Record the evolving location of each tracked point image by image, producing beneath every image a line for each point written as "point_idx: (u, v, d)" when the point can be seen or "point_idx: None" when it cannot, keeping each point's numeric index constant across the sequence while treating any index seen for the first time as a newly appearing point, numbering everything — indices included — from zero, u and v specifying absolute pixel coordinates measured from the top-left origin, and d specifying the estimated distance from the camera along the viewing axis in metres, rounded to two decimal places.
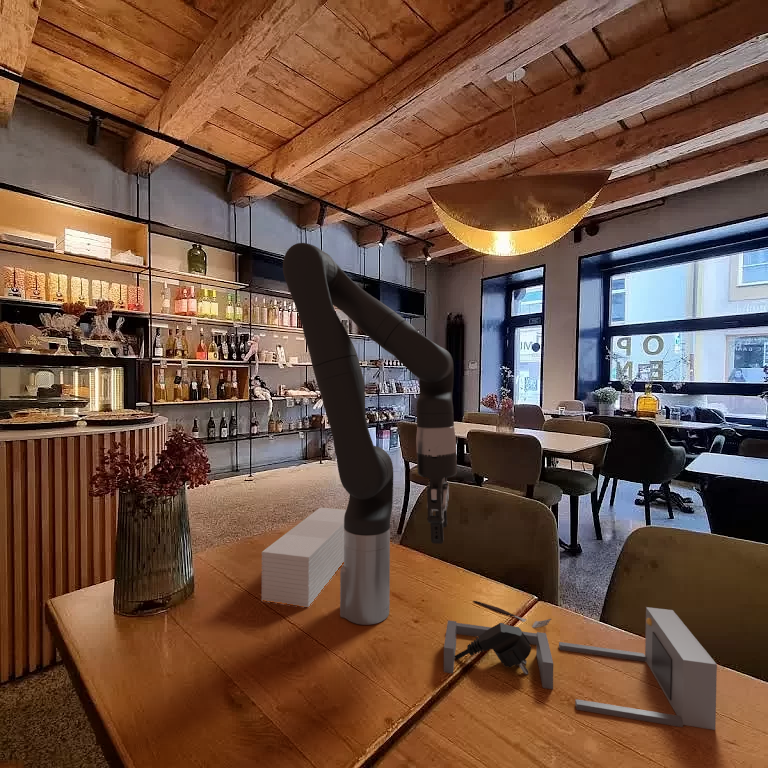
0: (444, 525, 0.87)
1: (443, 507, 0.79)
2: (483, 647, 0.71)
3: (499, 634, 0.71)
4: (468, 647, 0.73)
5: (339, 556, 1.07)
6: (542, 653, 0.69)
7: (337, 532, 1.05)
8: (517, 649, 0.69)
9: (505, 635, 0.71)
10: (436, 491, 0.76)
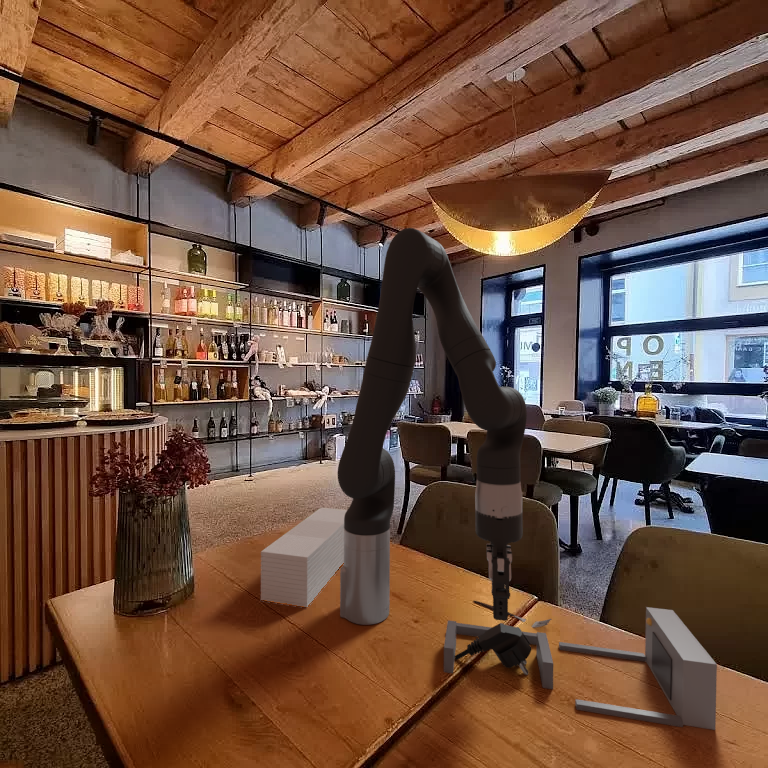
0: None
1: (508, 578, 0.68)
2: (483, 647, 0.71)
3: (499, 634, 0.70)
4: (468, 647, 0.73)
5: (339, 556, 1.07)
6: (542, 653, 0.69)
7: (337, 532, 1.05)
8: (517, 650, 0.69)
9: (505, 635, 0.70)
10: (503, 561, 0.65)
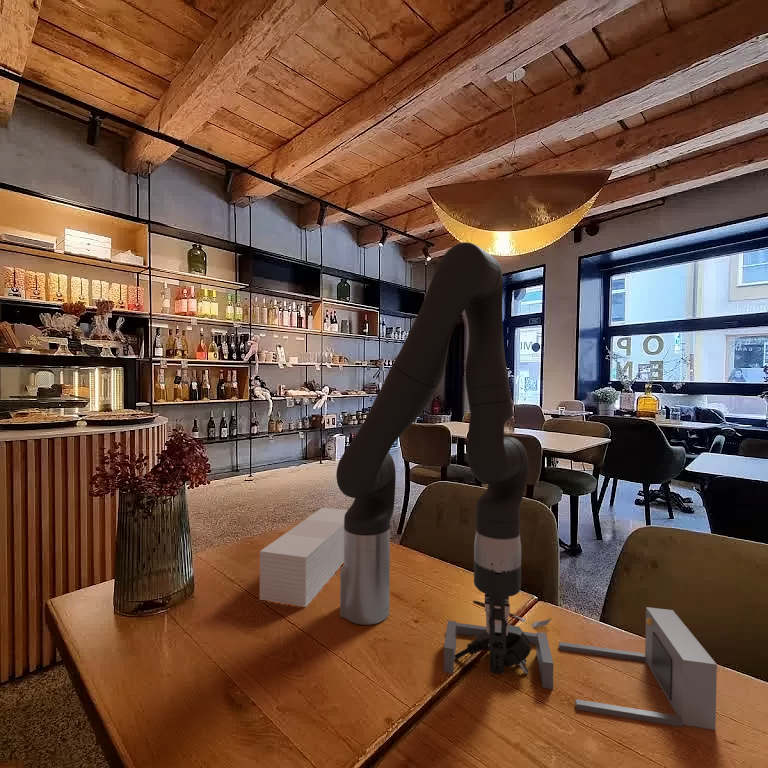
0: None
1: (505, 633, 0.68)
2: (483, 646, 0.71)
3: None
4: (468, 646, 0.73)
5: (339, 556, 1.07)
6: (542, 653, 0.69)
7: (337, 532, 1.05)
8: (517, 649, 0.69)
9: None
10: (501, 625, 0.65)
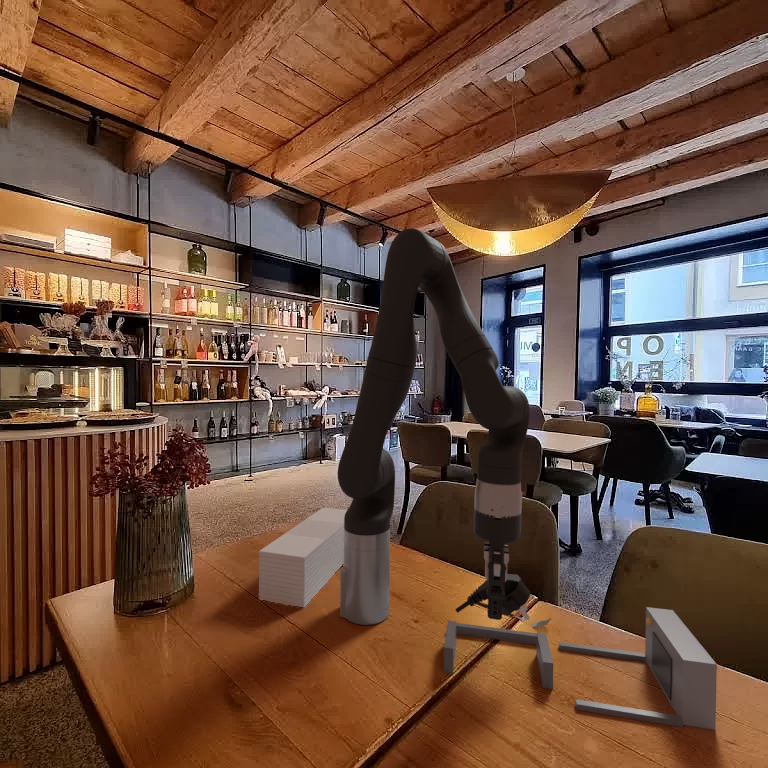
0: None
1: (504, 579, 0.68)
2: (482, 596, 0.71)
3: None
4: (468, 598, 0.72)
5: (339, 557, 1.07)
6: (542, 653, 0.69)
7: (337, 533, 1.05)
8: (516, 595, 0.69)
9: None
10: (500, 568, 0.65)
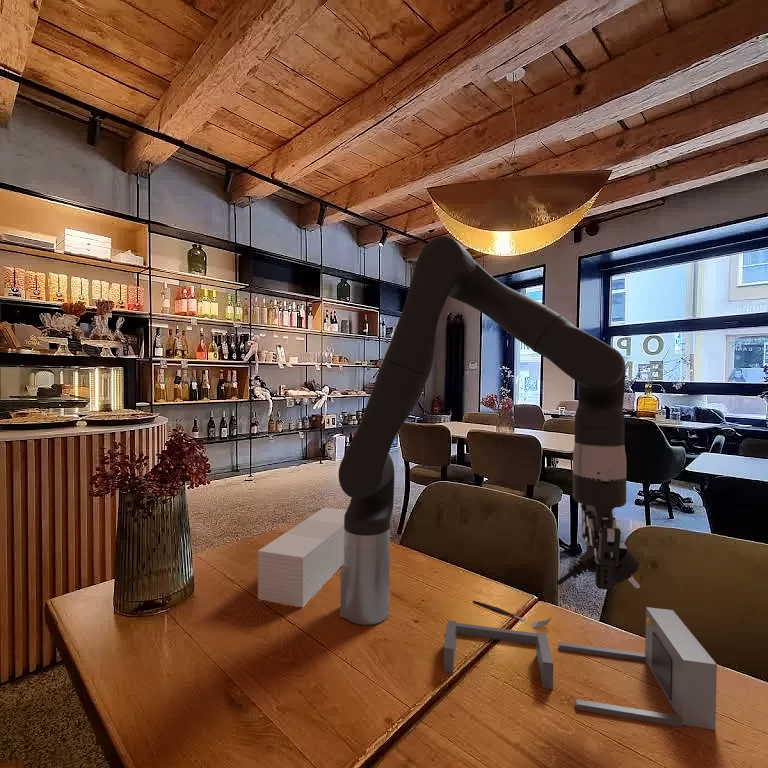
0: None
1: None
2: (587, 567, 0.67)
3: None
4: (570, 570, 0.69)
5: (339, 557, 1.06)
6: (542, 653, 0.69)
7: (337, 533, 1.05)
8: (626, 562, 0.65)
9: None
10: (614, 533, 0.61)
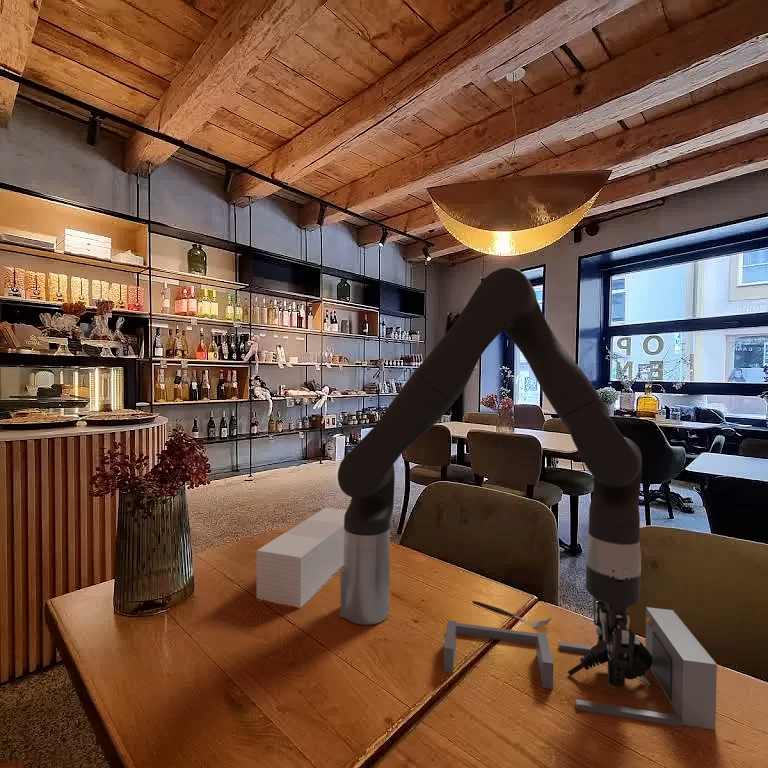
0: None
1: None
2: (599, 660, 0.67)
3: None
4: (582, 661, 0.69)
5: (339, 557, 1.06)
6: (542, 653, 0.69)
7: (336, 533, 1.05)
8: (639, 660, 0.65)
9: None
10: (629, 636, 0.61)
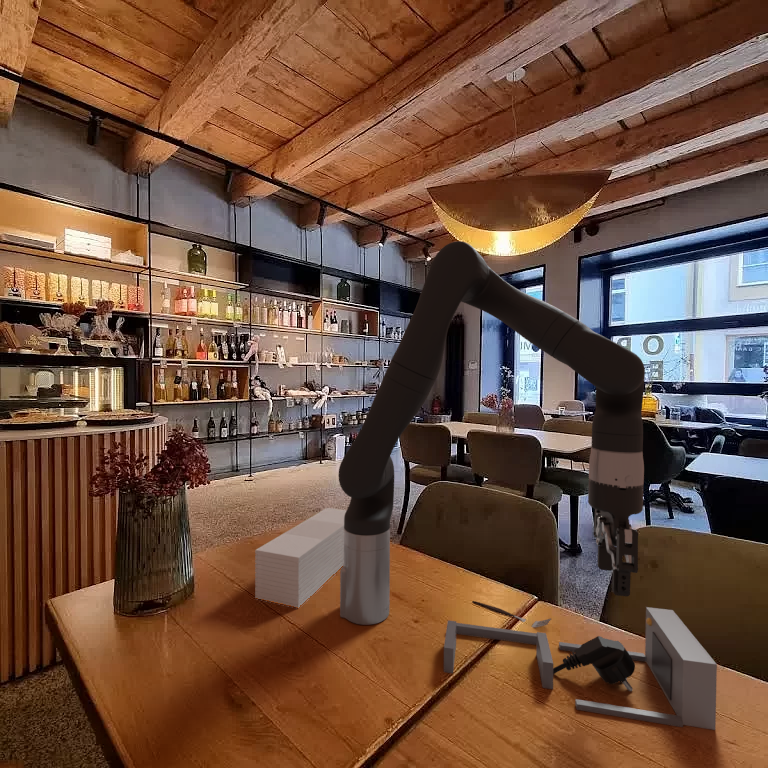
0: (609, 568, 0.71)
1: None
2: (582, 662, 0.68)
3: (600, 649, 0.67)
4: (564, 661, 0.69)
5: (339, 557, 1.06)
6: (542, 653, 0.69)
7: (336, 533, 1.04)
8: (622, 665, 0.65)
9: (607, 649, 0.67)
10: (632, 533, 0.61)
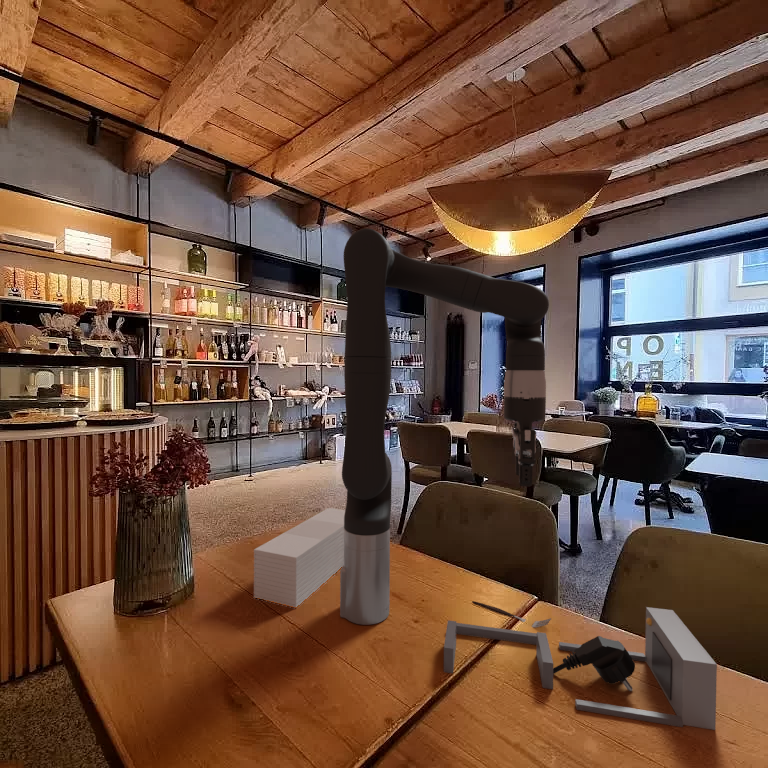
0: None
1: None
2: (582, 662, 0.68)
3: (600, 648, 0.67)
4: (564, 661, 0.69)
5: (339, 558, 1.06)
6: (542, 653, 0.69)
7: (336, 534, 1.04)
8: (622, 665, 0.65)
9: (607, 649, 0.67)
10: (530, 432, 0.75)
